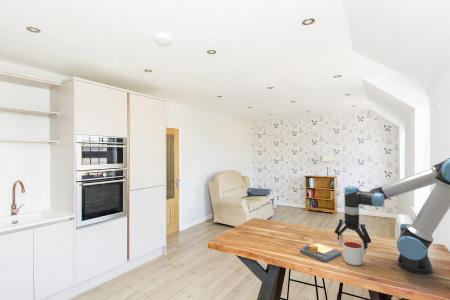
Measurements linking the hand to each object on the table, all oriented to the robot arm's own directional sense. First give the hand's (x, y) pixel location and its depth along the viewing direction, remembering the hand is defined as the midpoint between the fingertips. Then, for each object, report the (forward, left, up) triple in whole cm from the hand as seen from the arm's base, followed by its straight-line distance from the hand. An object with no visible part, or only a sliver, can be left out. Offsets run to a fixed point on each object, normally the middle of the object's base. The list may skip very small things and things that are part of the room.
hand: (351, 249), depth 141 cm
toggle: (+18, +11, -5) cm, 22 cm away
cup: (0, 0, -7) cm, 7 cm away
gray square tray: (+18, +5, -7) cm, 20 cm away
